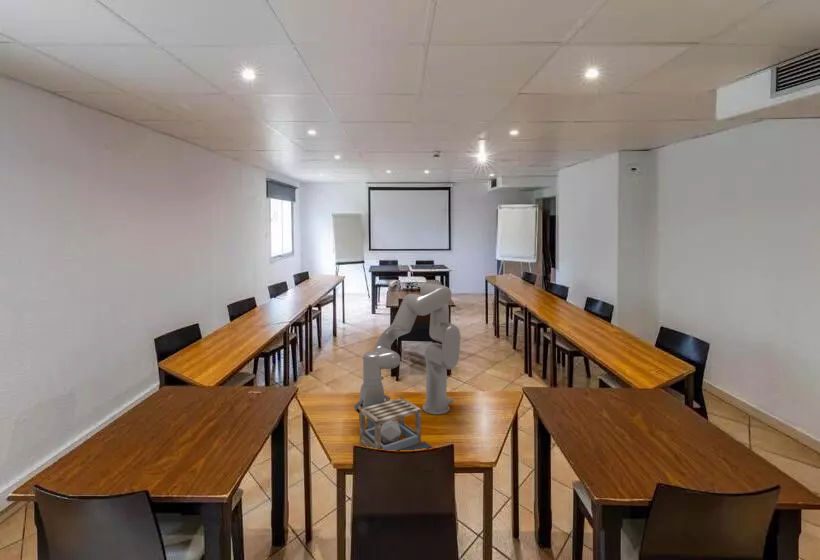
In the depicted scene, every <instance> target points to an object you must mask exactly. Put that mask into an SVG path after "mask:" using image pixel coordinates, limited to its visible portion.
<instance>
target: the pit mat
mask: <svg viewBox="0 0 820 560" xmlns="http://www.w3.org/2000/svg"><path fill="white" fill-rule="evenodd" d="M431 447H432V448H433V446H432V445H430V444H429V443H427V442H426V441H422V442H418V444H415V445H412V446H409V447H406V448H403V449H400V450H415V449H422V448H429V449H431Z"/></svg>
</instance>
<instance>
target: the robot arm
mask: <svg viewBox="0 0 820 560" xmlns="http://www.w3.org/2000/svg"><path fill="white" fill-rule="evenodd" d="M419 292H420V294H417V293H407V294H406V295H405V296H404V297H403V299H402V301H401V302H400V305H399V308H398V310H397V313H396V314H395V317H394V319H393V322H392V323H391V324H390V325H389V326H388V327H387V328H386V329H385V330H384V331H383V332H382V333H381V335H379V337H378V339H377V341H376V343H375V346H374V349H373V351H372V350H371V351H367V352H365V353H364V354H363V357H362V361H363V362H362V363H363V365H362V369H363V370H362V371H363V372H362V375H363V377H362V378H363V380H362V381H363V383H362V384H361V385H360V390H359V391H360V392H359V399H358V401H357V402H356V403H355V404H354V405H353V409H354V410H355V412H356V413H358V415H359V417H358V418H359V422H360V409H361V408H365V407H369V406H372V405H376V404H380V403H384V402H388V401H391V397H390V395H389V396H388V395H386V394H385V389H384V385H383V383H382V380H384V376H382V370H392V369H395V368H397V367H399V365H400V363H401V356H400V354H399V353H397V352H396V351H394V350H392V349H391V347H392V345H393V343H394V341H395V340H396V339H398V338H399V337H402V336H404V335H406V334H409V333H410V332H411V331H412V328H413V326H414V325H415V321H416V319H417V317H418V316H422V317H423V316H424V317H425V316H427V315H429V314H430V318H429V319H430V320H429V333H428V334H429V337H430V338H431V339H432V340H434V341H436V342H432V343H429V344H428V345H427V346H426V347H425V350H424V361H425V365H426V369H425V370H426V381H425V382H426V383H425V384H426V385H425V386H426V389H425V390H426V391H425V392H426V393H425V394H426V395H425V398H426V399H425V403H424V404H423V405H422V411H424V412H425V413H427V414H431V415H444V414H447V413H449V412H450V406H449V404H451V403H454V402H455V399H454V397H447V391H448V389H447V386H448V384H447V383H448V382H447V379H448V374H447V373H448V371H447V370H452V369H454V368H455V367H456V366H457V364H458V362H459V359H460V350H461V349H460V348H461V332H460V328H459V327H458V326H457V325H455V324H453V323H450V309H449V302H450V301H451V299H452V297H453V295H452V291H451V289H450V288H449V287H448V286H446V285H442V284H437V283H431V282H425V283H423V284H422V285H421V287H420V291H419ZM381 411H382V410H381ZM384 414H385V413H384Z"/></svg>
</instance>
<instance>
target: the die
mask: <svg viewBox="0 0 820 560" xmlns="http://www.w3.org/2000/svg"><path fill="white" fill-rule="evenodd" d="M398 422H399V421H398V420H392V421H389V422H385V423H382V424H381V425H382V427H381V430H380V439H381V441H382V444H383V445H387V444H390V443H393V442H396V441H399V440H400V436H401V435H402V434H401V430H400V427H399V425H398Z"/></svg>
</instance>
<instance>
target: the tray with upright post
mask: <svg viewBox="0 0 820 560" xmlns="http://www.w3.org/2000/svg"><path fill="white" fill-rule="evenodd" d="M397 422H398V425H399V427H400V430H401V434H400V435H401V436H403V438H402V439H398V441H396V442H393V443H390V444H384V443H383V442H381V441H380V444H381V449H384V450H400V449H403V448H406V447H409V446H412V445H415V444H418V443H419V442H418V436H417V435H416V434H414V433H413V432H411V431H410V430H409V429H407V428H406V427H404V426H403V425H402V424H400V423H399V421H397ZM366 427H367V428H368V429H365V437H367V438H368V439H369V440H370V441H371V442H372V443H374V444H375V423H373V422H372V421H371V420H370V419H368V418H367V417H366ZM381 427H382V424H380V430H381Z"/></svg>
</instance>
